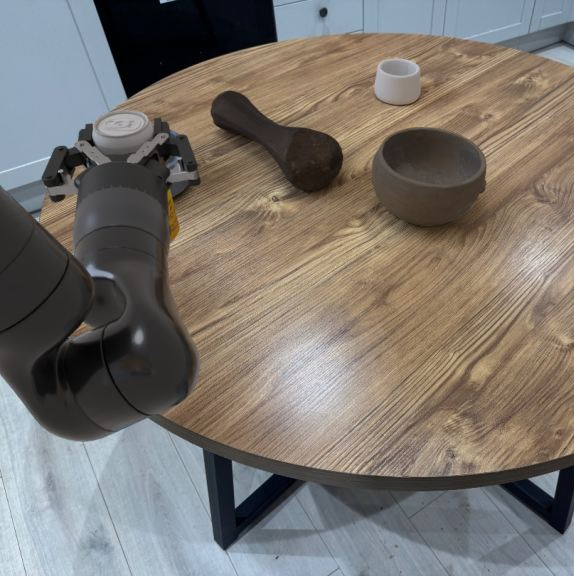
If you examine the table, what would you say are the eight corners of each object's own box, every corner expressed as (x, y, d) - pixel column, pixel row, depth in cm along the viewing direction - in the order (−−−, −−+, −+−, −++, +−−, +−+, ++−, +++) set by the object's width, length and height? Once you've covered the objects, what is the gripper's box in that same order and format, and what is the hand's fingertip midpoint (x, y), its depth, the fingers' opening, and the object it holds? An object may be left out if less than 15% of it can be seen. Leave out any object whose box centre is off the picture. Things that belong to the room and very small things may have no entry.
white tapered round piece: (403, 111, 115) (406, 82, 110) (364, 96, 118) (365, 68, 114) (434, 90, 122) (437, 62, 118) (396, 76, 125) (398, 49, 121)
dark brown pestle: (338, 198, 96) (242, 149, 112) (355, 137, 93) (254, 95, 108) (289, 194, 88) (192, 141, 103) (307, 127, 85) (204, 82, 100)
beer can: (177, 252, 67) (147, 137, 56) (123, 254, 66) (81, 138, 55) (183, 219, 71) (156, 107, 60) (132, 221, 70) (95, 108, 59)
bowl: (492, 194, 96) (504, 142, 89) (454, 256, 85) (464, 201, 78) (399, 165, 101) (404, 113, 94) (351, 219, 89) (352, 165, 82)
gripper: (201, 179, 49) (189, 89, 60) (14, 200, 45) (38, 101, 56) (214, 245, 54) (201, 151, 65) (48, 269, 50) (64, 166, 62)
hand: (126, 128), depth 61 cm, fingers closed on beer can, 6 cm apart
